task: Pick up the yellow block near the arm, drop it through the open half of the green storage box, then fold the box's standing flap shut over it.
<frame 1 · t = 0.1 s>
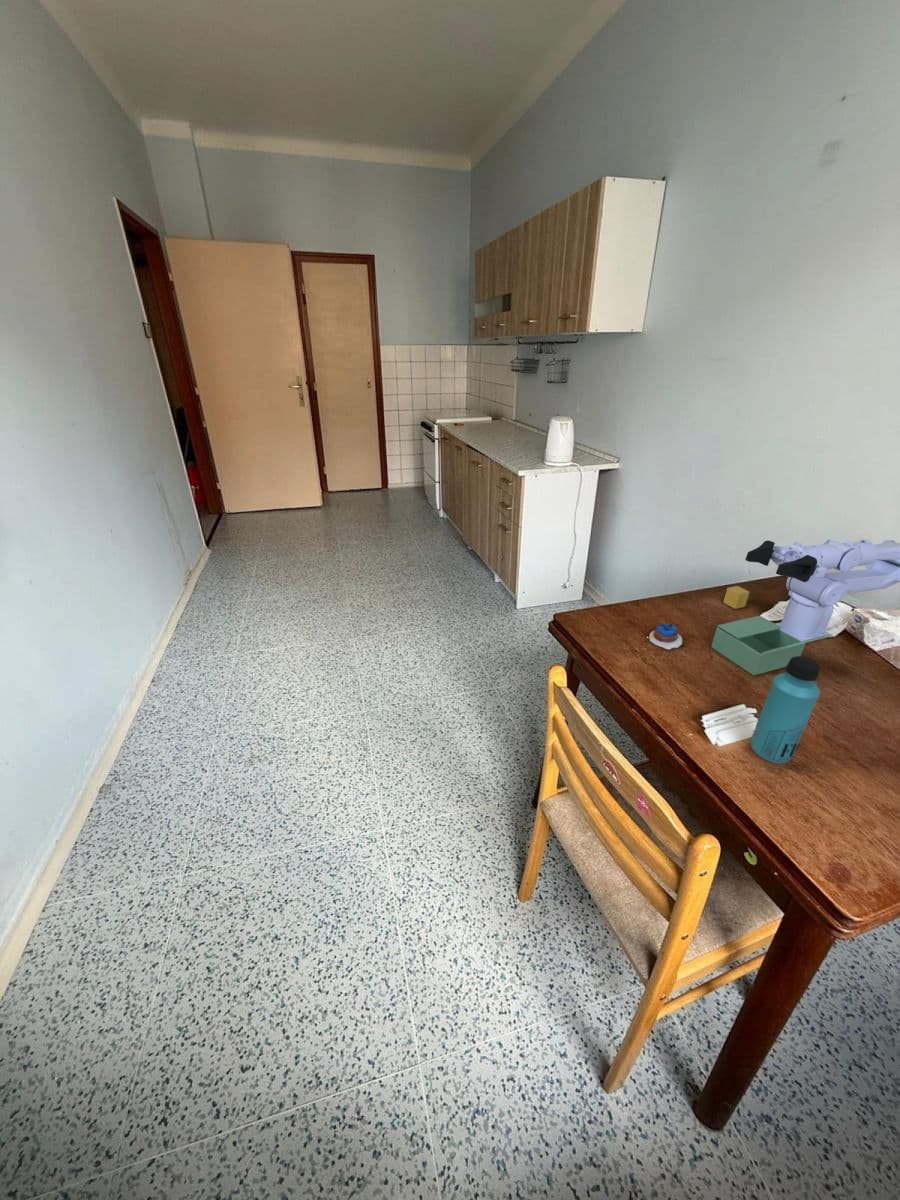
hand: (762, 562, 102), 22 cm above the table, tool horizontal, fingers open, 7 cm apart
green storage box: (753, 655, 109), on the table
bin flap: (797, 644, 98), point 8 cm above the table, hinge at 135.0°
dessert: (664, 640, 115), on the table
beverage bottle: (767, 756, 82), on the table
yellow block: (733, 604, 130), on the table
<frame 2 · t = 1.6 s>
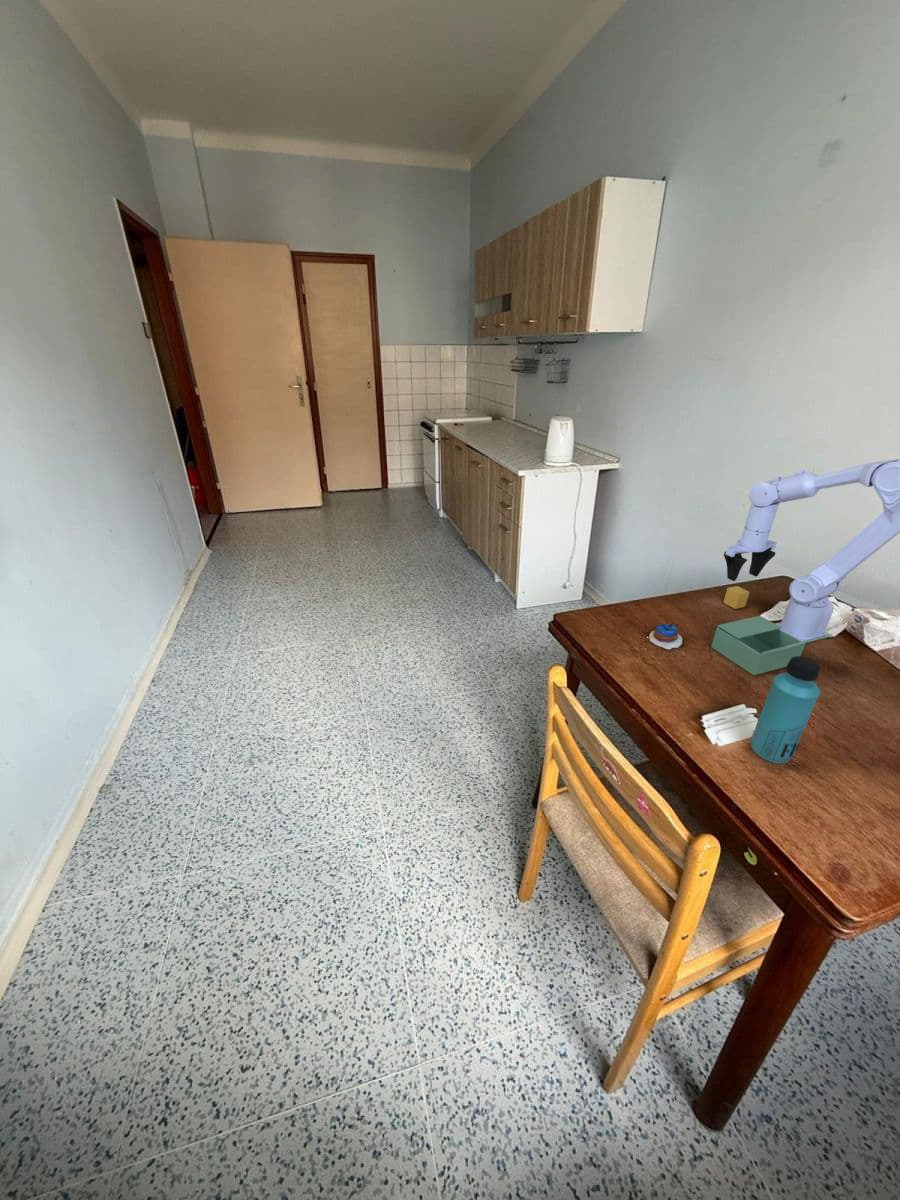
hand: (742, 577, 126), 8 cm above the table, tool pointing down, fingers open, 7 cm apart
nothing on the table moved.
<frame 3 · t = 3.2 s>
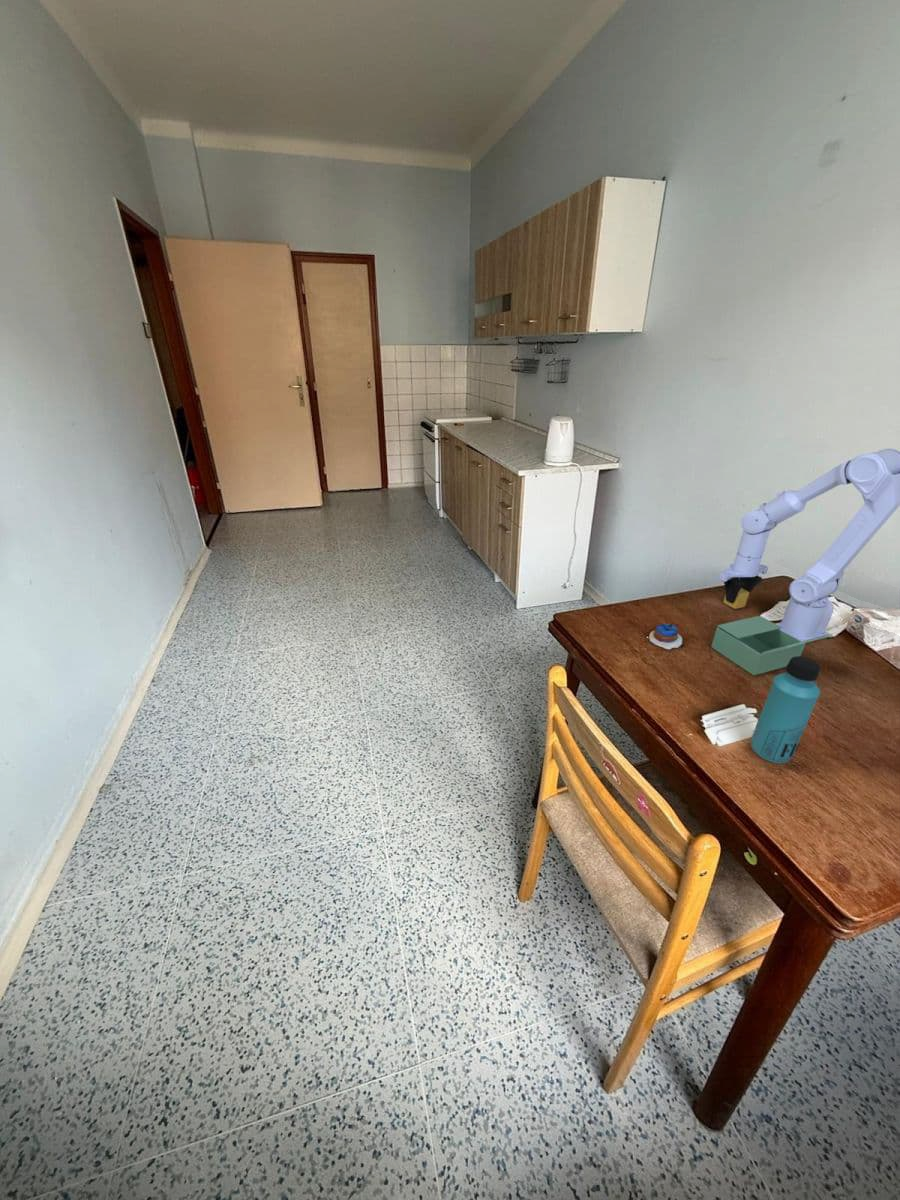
hand: (735, 600, 129), 1 cm above the table, tool pointing down, fingers closed on yellow block, 3 cm apart
yellow block: (733, 604, 130), on the table, touching gripper
everything else where it was.
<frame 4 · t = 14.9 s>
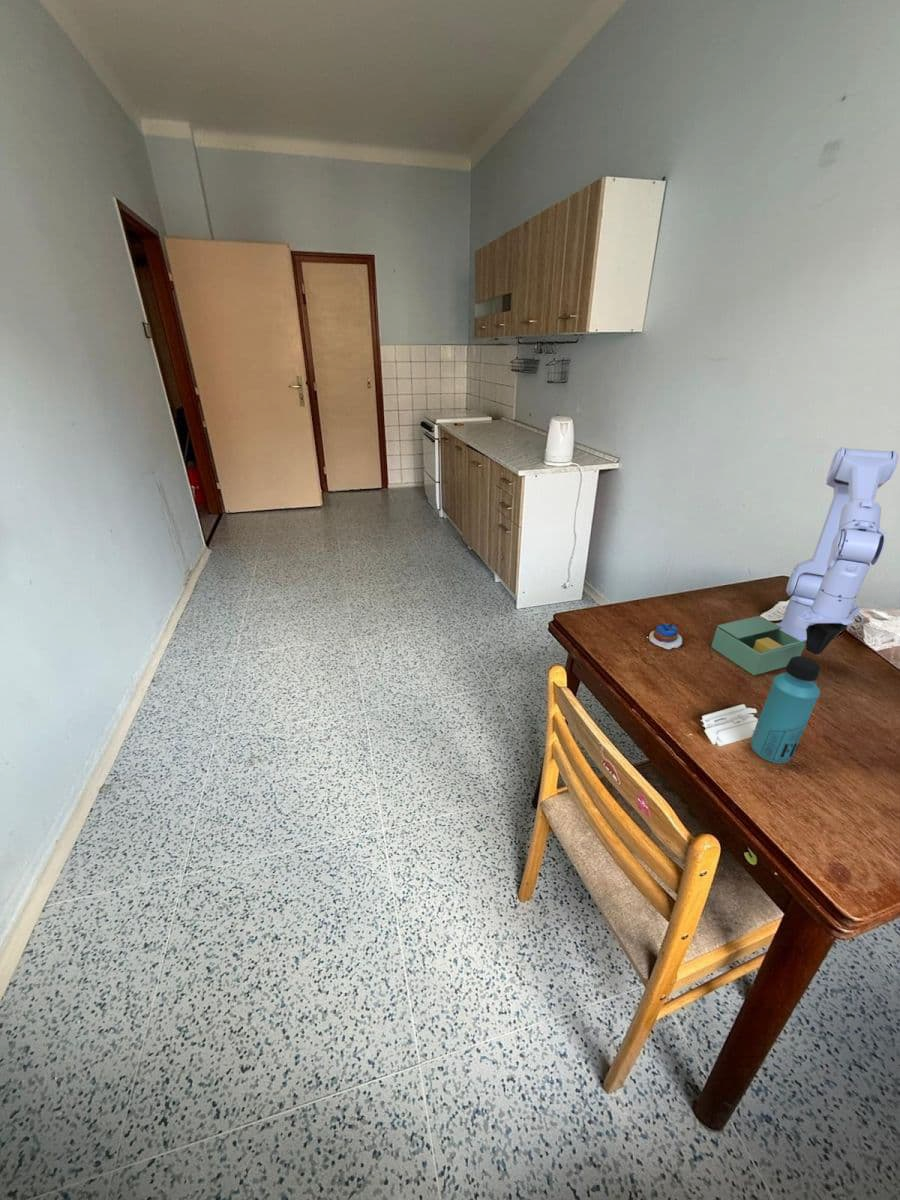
hand: (813, 651, 95), 8 cm above the table, tool pointing down, fingers closed, pressing on bin flap
bin flap: (796, 643, 98), point 8 cm above the table, hinge at 132.7°, touching gripper
yellow block: (763, 660, 106), resting on green storage box
everything else where it was.
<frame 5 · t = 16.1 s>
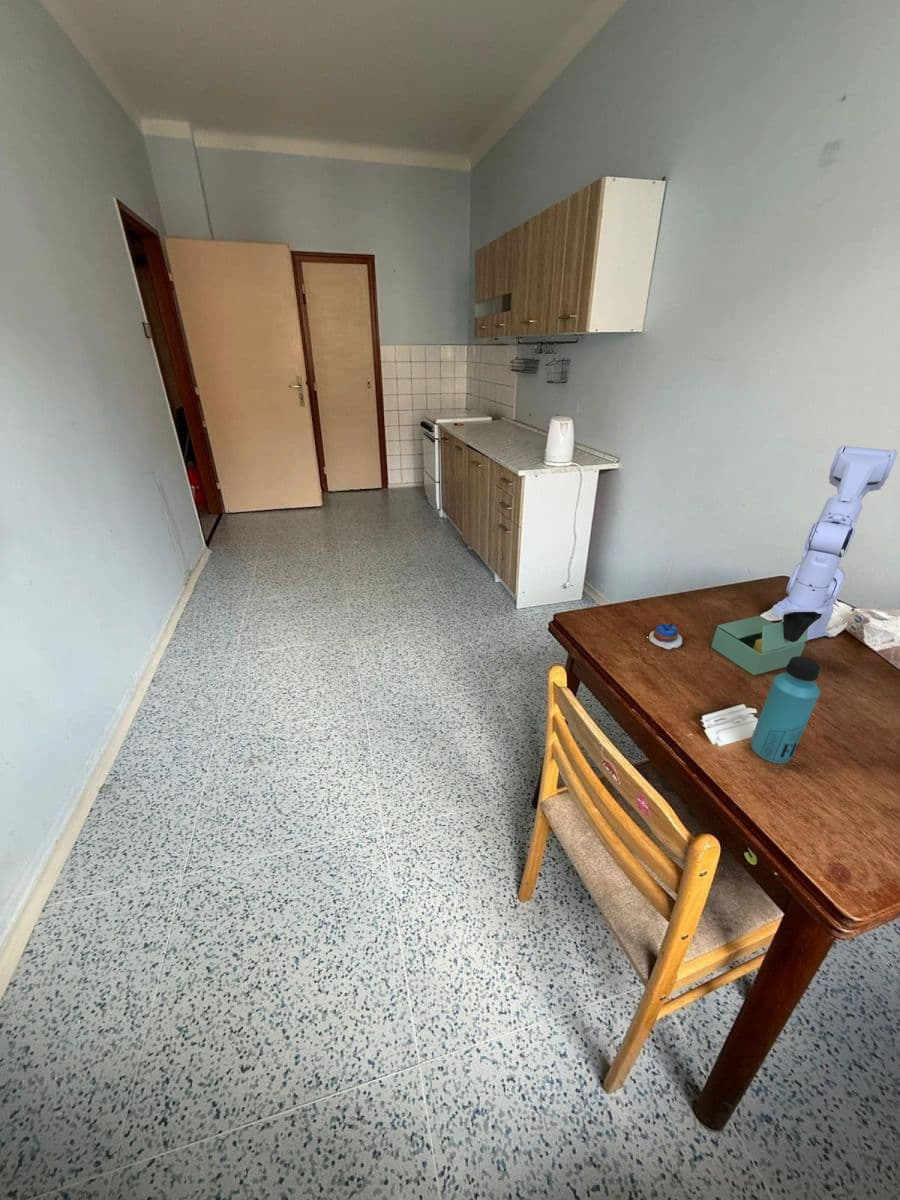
hand: (790, 639, 99), 8 cm above the table, tool pointing down, fingers closed, pressing on bin flap
bin flap: (785, 633, 100), point 9 cm above the table, hinge at 73.2°, touching gripper
everything else where it was.
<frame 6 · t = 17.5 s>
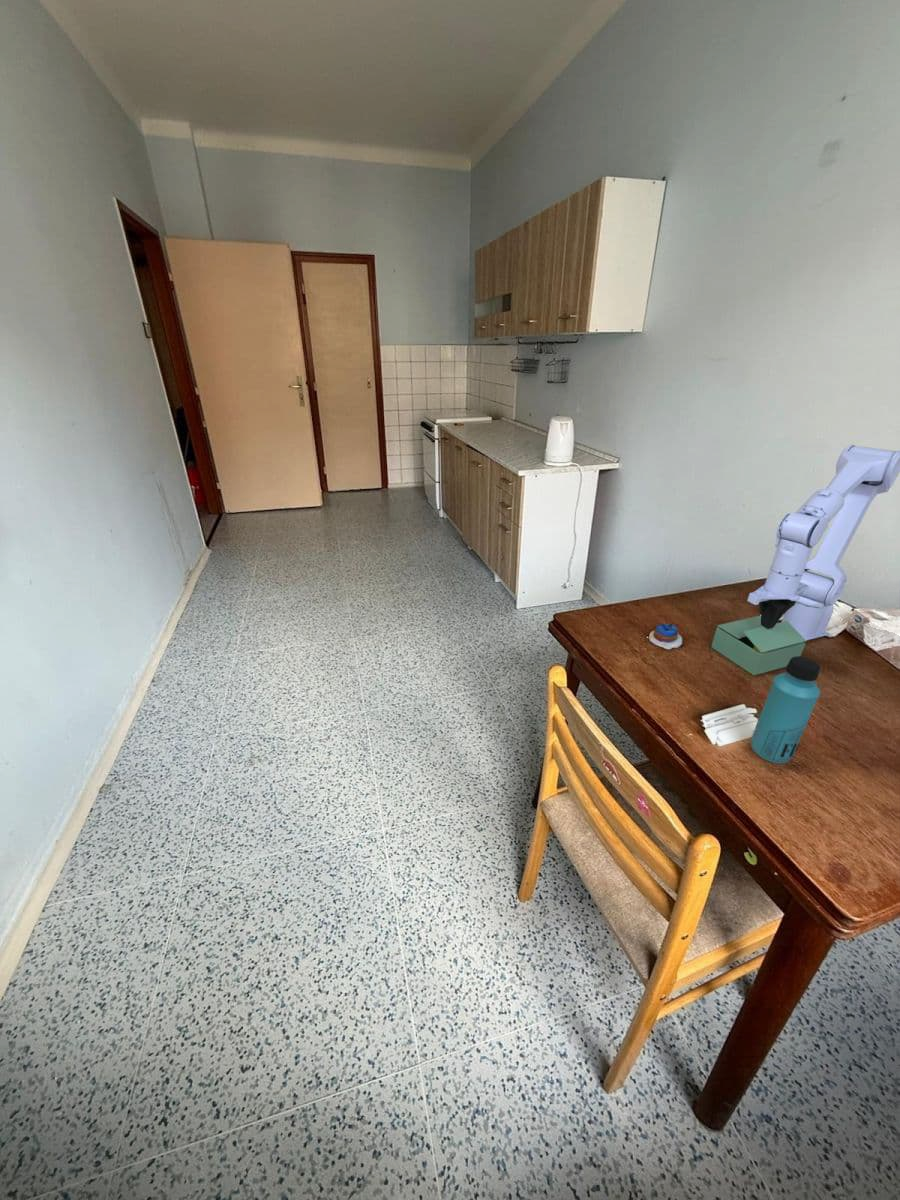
hand: (766, 626, 104), 8 cm above the table, tool pointing down, fingers closed
bin flap: (774, 636, 103), point 7 cm above the table, hinge at 21.1°
everything else where it was.
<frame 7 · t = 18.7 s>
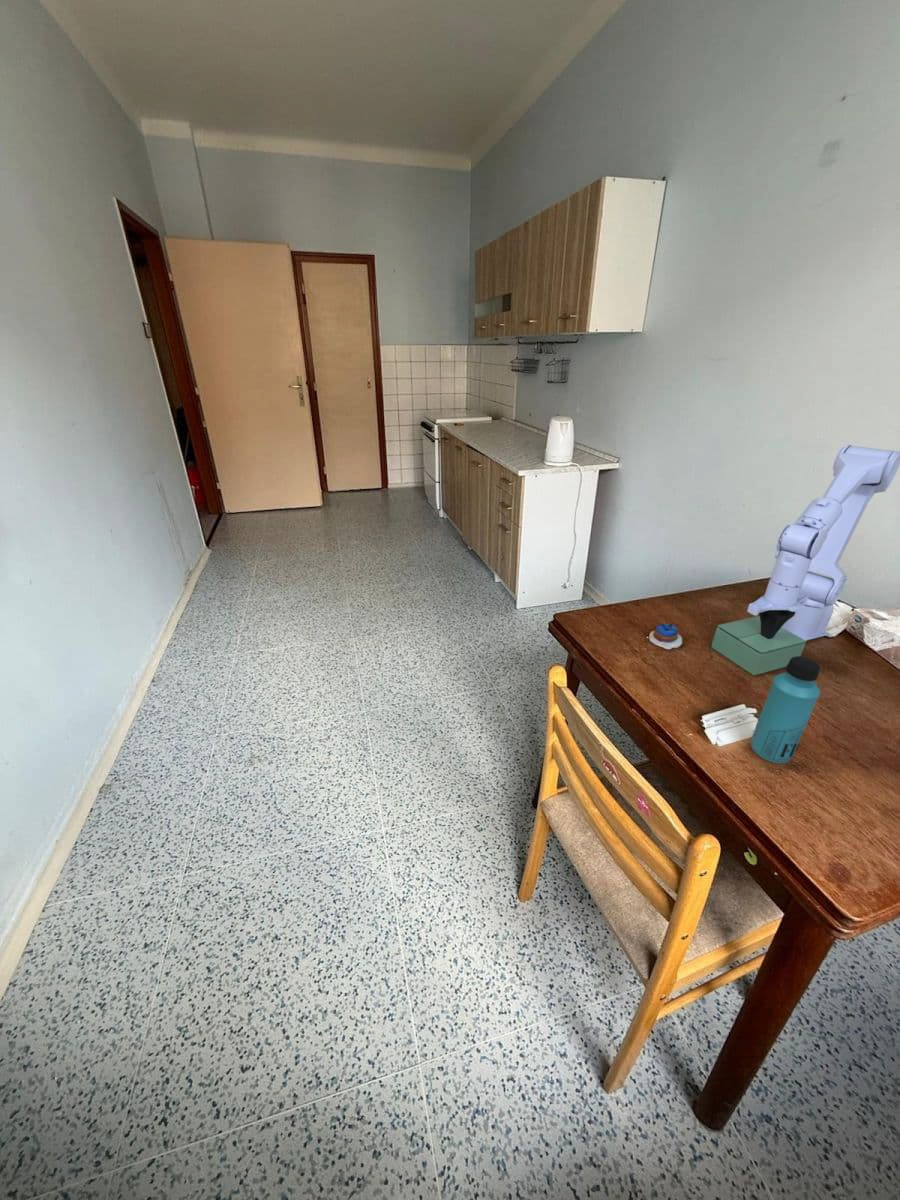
hand: (766, 636, 105), 6 cm above the table, tool pointing down, fingers closed, pressing on bin flap
bin flap: (772, 640, 103), point 6 cm above the table, hinge at -0.8°, touching gripper
everything else where it was.
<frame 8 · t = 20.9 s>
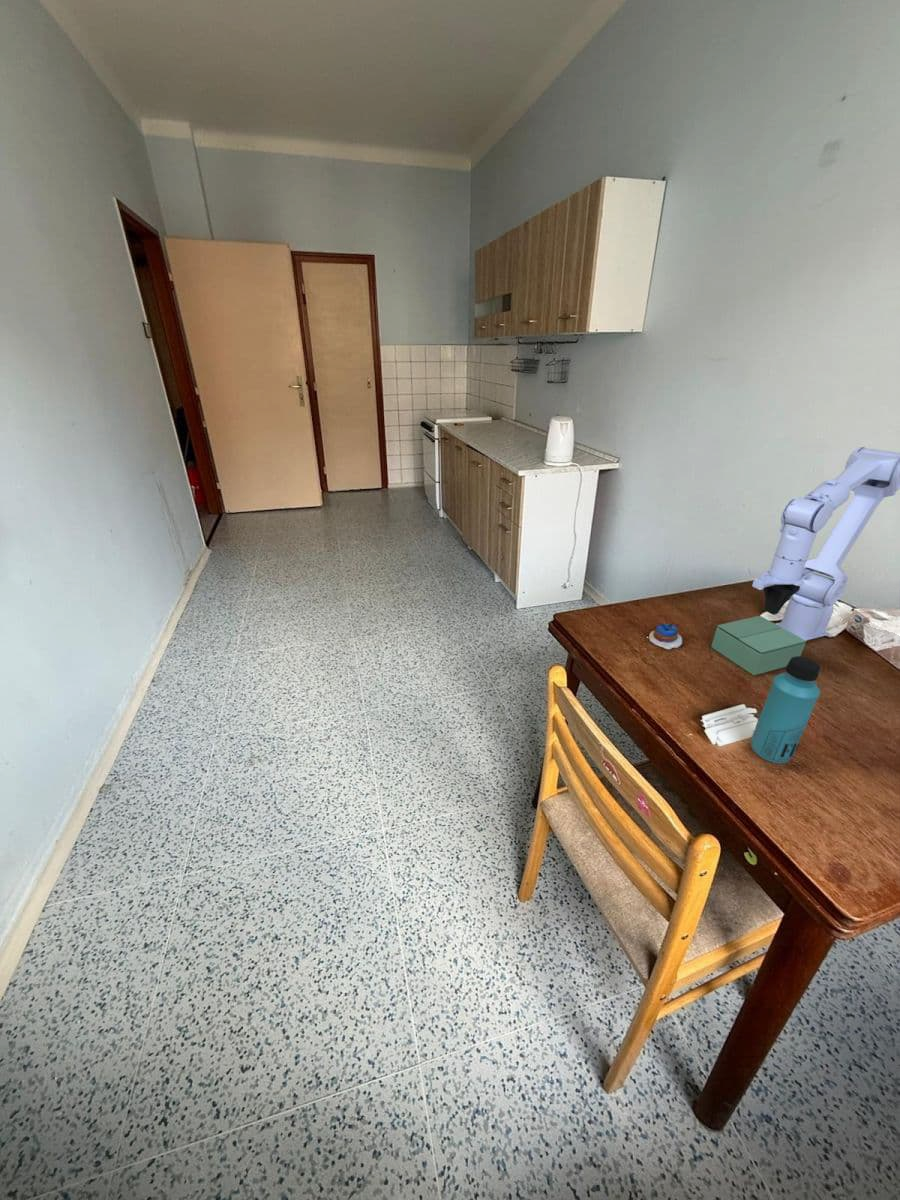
hand: (771, 612, 105), 10 cm above the table, tool pointing down, fingers closed
bin flap: (772, 640, 103), point 6 cm above the table, hinge at -0.8°
everything else where it was.
at the end: yellow block inside the target area in the green storage box (2.7 cm from its centre), point 0.4 cm above the green storage box's base; bin flap at -1° (first picture: +135°) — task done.
